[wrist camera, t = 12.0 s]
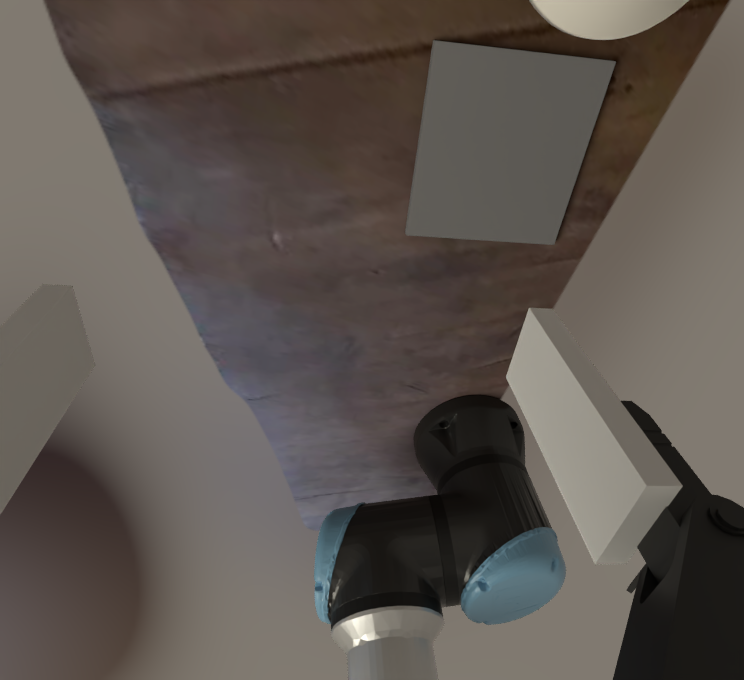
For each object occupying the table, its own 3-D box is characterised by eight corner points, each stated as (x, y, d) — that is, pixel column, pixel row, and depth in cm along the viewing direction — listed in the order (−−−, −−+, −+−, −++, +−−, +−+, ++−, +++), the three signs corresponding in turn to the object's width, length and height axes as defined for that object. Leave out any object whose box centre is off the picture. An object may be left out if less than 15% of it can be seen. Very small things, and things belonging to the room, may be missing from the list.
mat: (551, 241, 52) (554, 244, 51) (404, 232, 50) (406, 235, 49) (611, 60, 42) (616, 61, 41) (433, 40, 40) (434, 40, 39)
